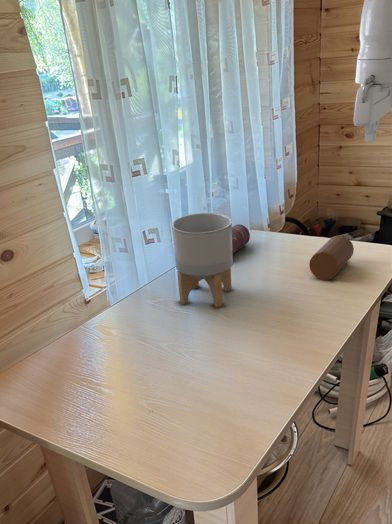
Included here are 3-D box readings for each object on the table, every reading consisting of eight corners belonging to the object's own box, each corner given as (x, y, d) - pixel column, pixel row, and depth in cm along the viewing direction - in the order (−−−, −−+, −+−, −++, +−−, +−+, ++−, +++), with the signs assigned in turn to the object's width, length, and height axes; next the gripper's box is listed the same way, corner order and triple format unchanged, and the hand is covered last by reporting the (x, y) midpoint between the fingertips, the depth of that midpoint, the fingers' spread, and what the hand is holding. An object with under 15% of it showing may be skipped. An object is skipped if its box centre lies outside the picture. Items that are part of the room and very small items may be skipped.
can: (227, 230, 148) (201, 246, 138) (243, 219, 143) (217, 236, 133) (238, 248, 149) (213, 266, 139) (254, 238, 144) (230, 256, 134)
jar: (336, 282, 123) (352, 263, 131) (338, 254, 119) (355, 237, 127) (308, 277, 126) (325, 259, 134) (310, 250, 122) (327, 233, 131)
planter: (244, 299, 118) (242, 224, 109) (194, 314, 114) (188, 237, 104) (216, 279, 128) (213, 209, 119) (169, 293, 124) (162, 220, 114)
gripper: (380, 78, 103) (373, 151, 110) (401, 67, 117) (393, 132, 125) (349, 79, 105) (343, 149, 113) (373, 68, 120) (367, 131, 128)
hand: (370, 140), depth 119 cm, fingers closed
